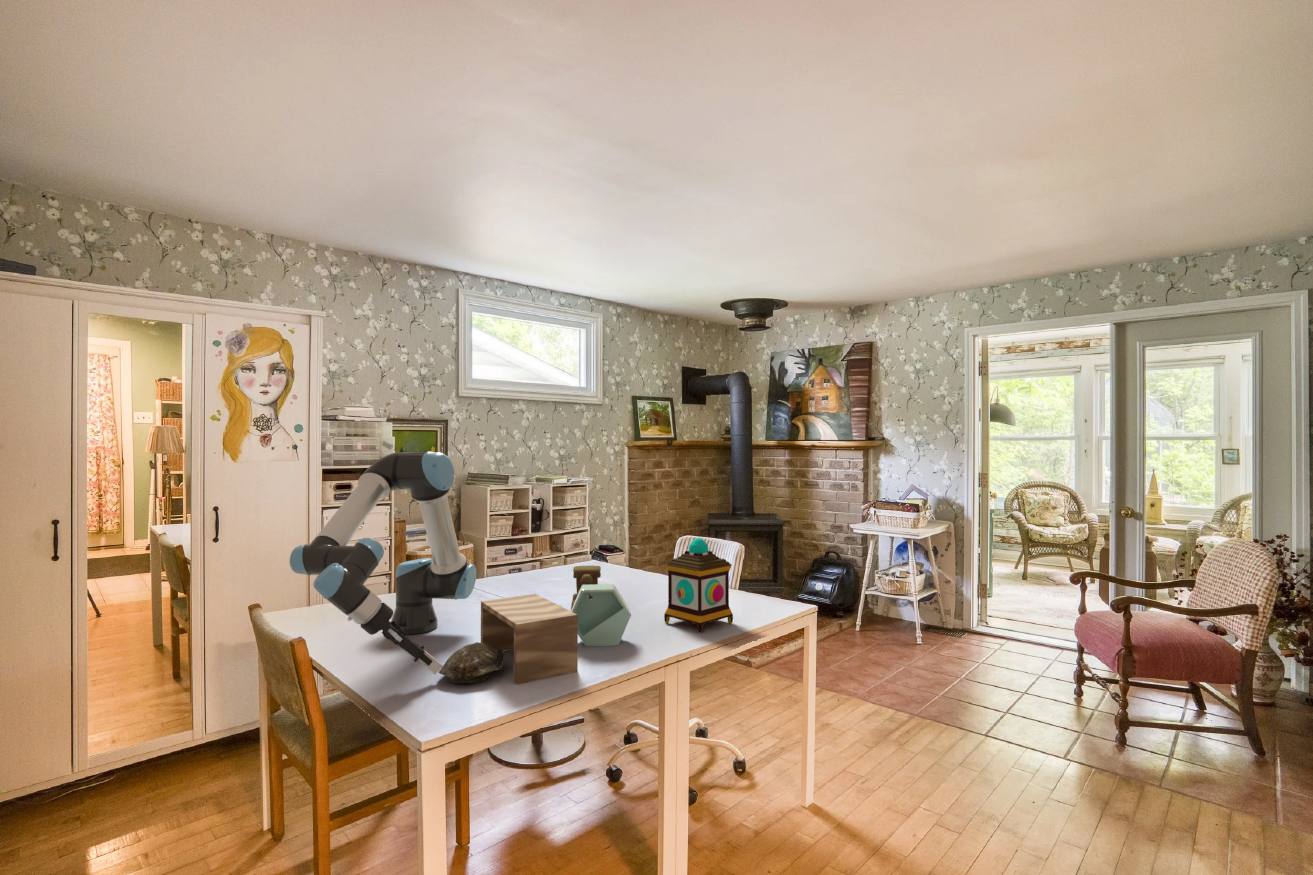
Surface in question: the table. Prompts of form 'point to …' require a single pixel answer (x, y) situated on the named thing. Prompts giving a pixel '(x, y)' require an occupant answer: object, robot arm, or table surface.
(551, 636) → the walnut shelf
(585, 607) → the planter
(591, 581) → the wooden toy train
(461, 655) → the turtle shell
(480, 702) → the table surface
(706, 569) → the decorative lantern
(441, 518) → the robot arm
